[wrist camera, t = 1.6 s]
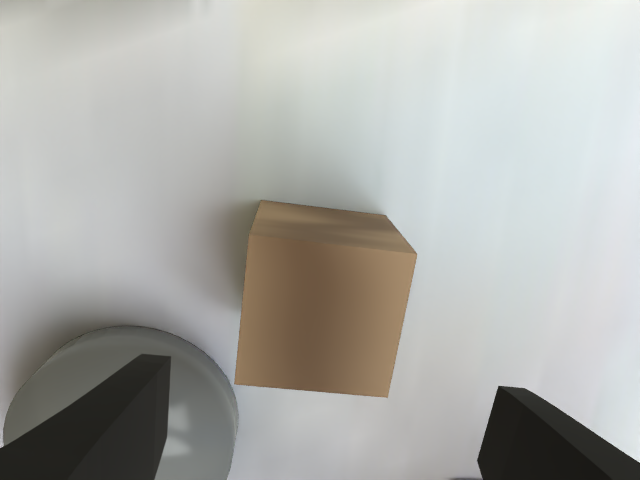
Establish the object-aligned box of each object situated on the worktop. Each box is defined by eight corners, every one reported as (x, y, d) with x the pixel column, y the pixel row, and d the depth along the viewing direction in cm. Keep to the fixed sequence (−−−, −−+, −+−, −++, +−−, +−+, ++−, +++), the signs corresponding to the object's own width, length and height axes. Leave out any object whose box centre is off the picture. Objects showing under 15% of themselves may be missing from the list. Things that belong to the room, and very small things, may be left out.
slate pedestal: (247, 336, 19) (241, 362, 17) (230, 502, 22) (223, 541, 20) (26, 315, 19) (-4, 340, 17) (35, 490, 21) (9, 529, 19)
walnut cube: (385, 214, 18) (417, 254, 13) (364, 326, 20) (387, 397, 15) (261, 199, 18) (248, 234, 13) (249, 314, 19) (234, 384, 14)
